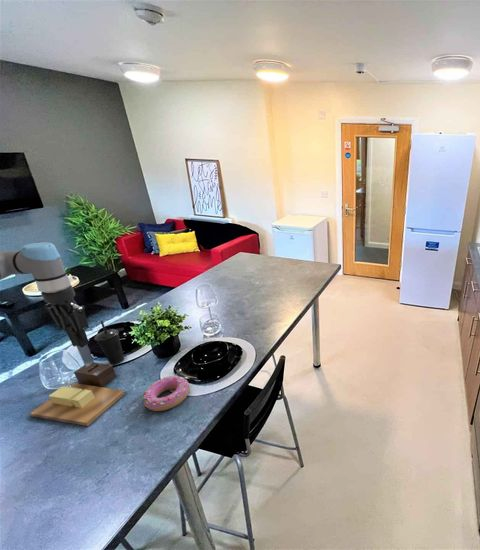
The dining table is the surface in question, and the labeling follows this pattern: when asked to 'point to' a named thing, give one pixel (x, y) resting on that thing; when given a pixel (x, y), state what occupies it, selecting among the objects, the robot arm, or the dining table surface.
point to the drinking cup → (110, 344)
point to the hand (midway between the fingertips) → (81, 344)
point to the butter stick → (64, 395)
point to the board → (80, 415)
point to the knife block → (95, 374)
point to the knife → (84, 350)
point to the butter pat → (83, 398)
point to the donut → (168, 401)
